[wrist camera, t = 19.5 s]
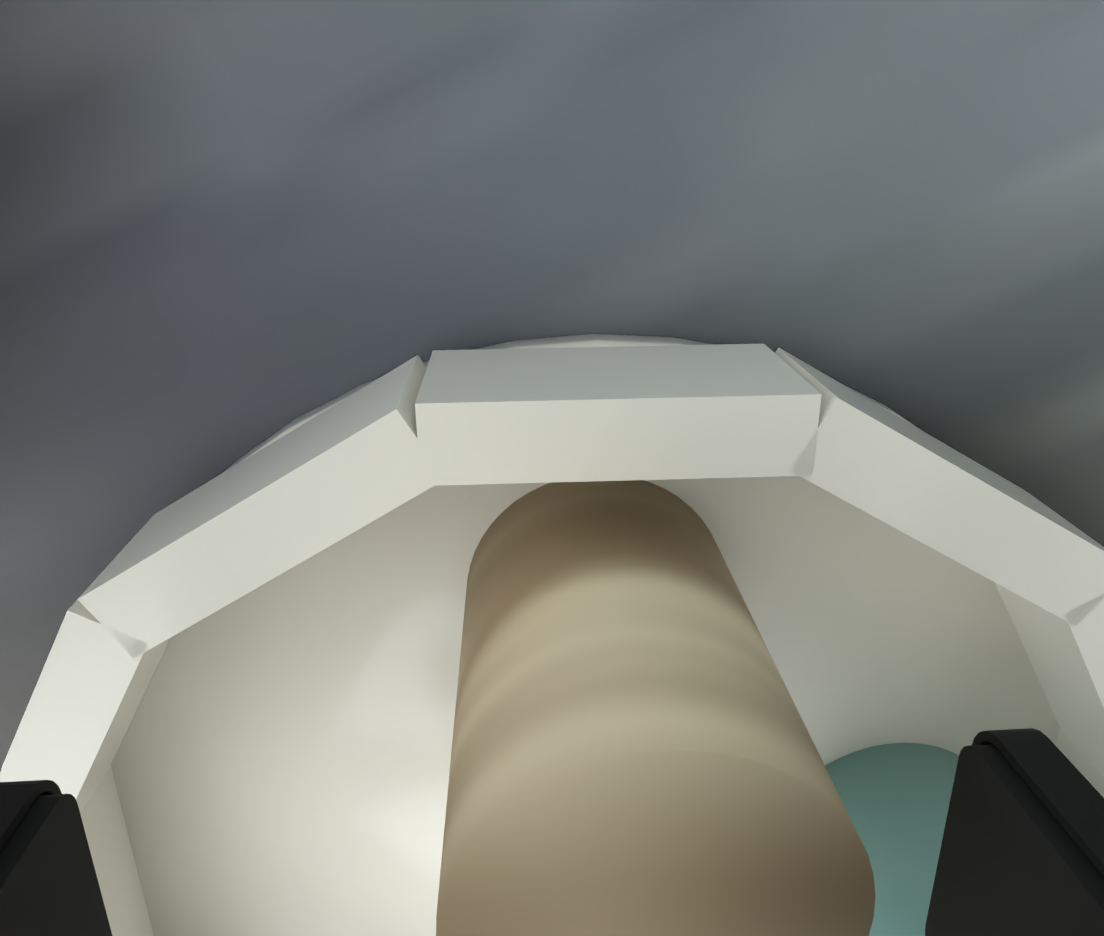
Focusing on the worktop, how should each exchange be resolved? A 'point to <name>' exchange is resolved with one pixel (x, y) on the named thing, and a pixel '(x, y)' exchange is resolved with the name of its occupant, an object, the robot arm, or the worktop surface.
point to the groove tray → (439, 602)
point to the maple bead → (631, 740)
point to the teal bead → (898, 824)
